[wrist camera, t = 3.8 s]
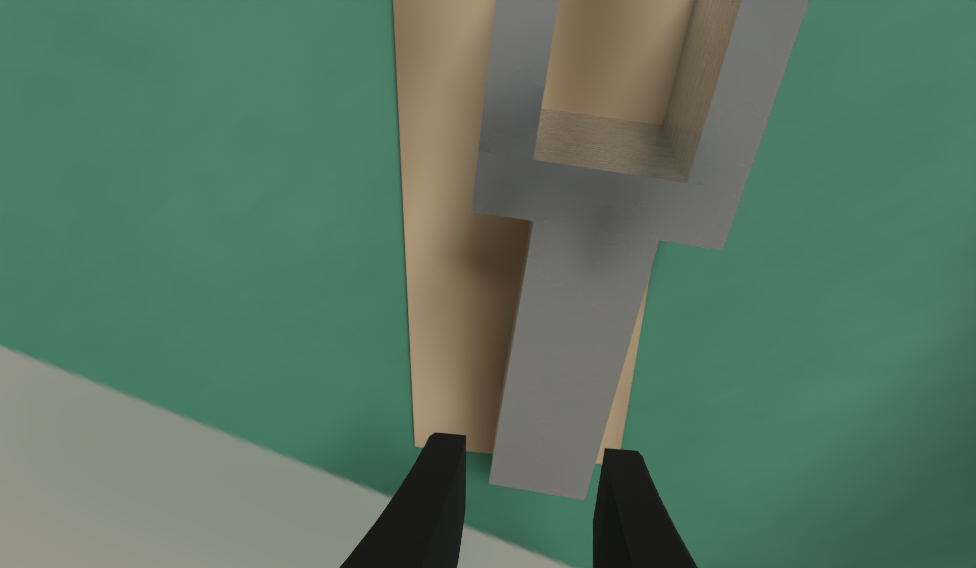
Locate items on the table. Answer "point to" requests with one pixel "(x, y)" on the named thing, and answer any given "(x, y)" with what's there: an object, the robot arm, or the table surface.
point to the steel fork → (608, 213)
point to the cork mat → (451, 178)
